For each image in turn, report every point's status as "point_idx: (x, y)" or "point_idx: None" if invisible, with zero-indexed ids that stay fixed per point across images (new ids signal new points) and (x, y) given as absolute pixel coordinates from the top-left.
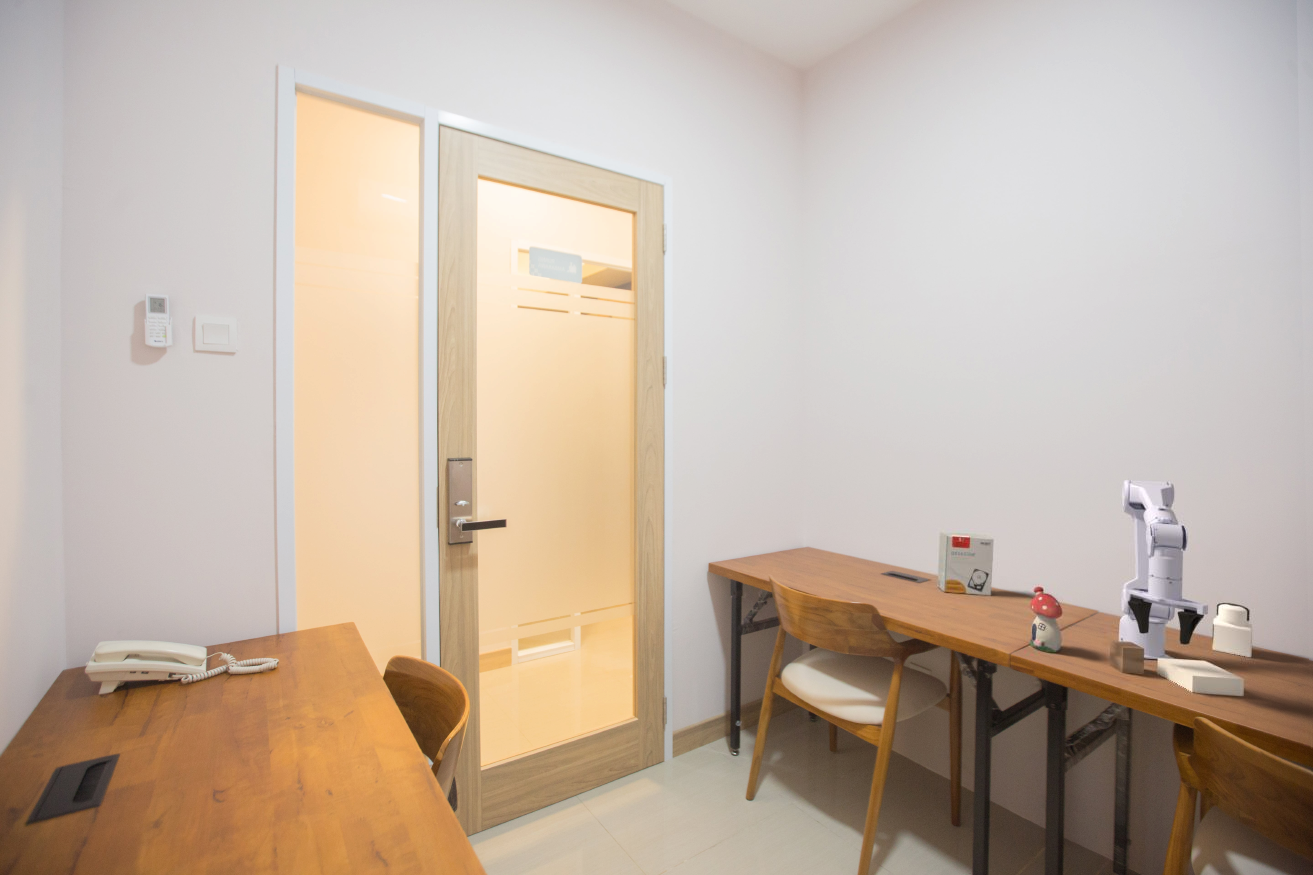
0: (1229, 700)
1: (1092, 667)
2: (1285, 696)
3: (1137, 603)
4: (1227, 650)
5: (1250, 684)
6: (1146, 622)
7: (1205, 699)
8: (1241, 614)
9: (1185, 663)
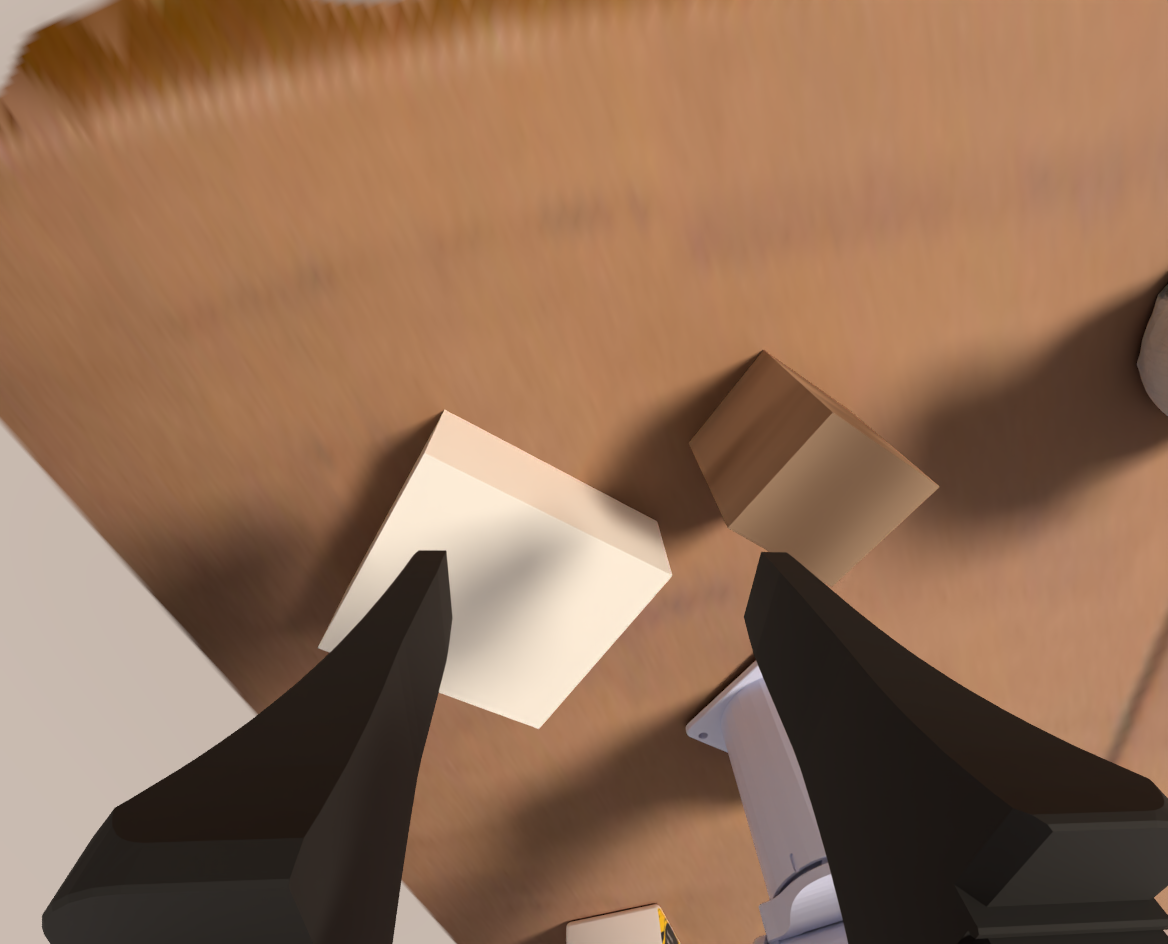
0: (323, 472)
1: (910, 258)
2: None
3: (1040, 842)
4: (621, 920)
5: None
6: (789, 685)
7: (360, 369)
8: None
9: (558, 619)
